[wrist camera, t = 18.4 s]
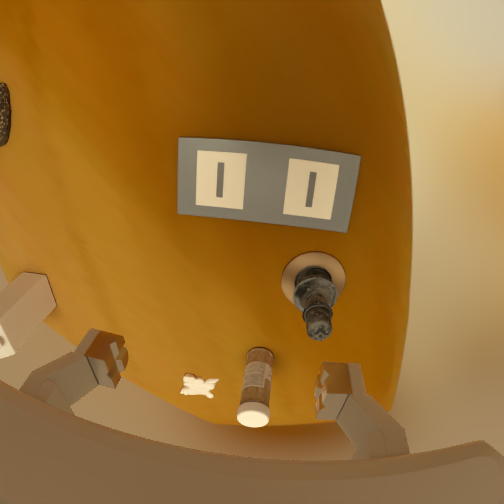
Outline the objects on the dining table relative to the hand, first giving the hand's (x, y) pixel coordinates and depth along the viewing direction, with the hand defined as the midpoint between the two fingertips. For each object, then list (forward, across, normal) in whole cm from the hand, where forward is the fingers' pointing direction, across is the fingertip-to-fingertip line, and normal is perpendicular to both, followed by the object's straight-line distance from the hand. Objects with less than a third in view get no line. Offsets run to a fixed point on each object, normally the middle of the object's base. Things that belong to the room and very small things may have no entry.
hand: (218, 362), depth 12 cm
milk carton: (+29, +42, +23) cm, 56 cm away
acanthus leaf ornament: (+29, +9, +40) cm, 51 cm away
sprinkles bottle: (+29, -2, +30) cm, 41 cm away
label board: (+29, 0, 0) cm, 29 cm away
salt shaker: (+28, -8, +14) cm, 32 cm away
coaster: (+29, -8, +14) cm, 33 cm away
